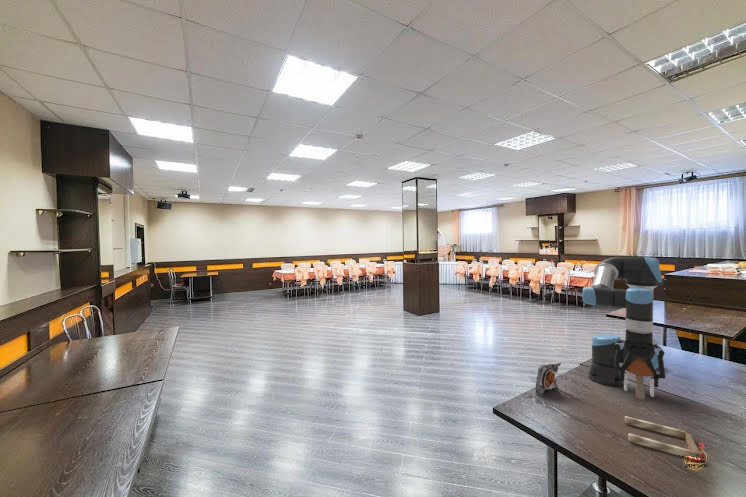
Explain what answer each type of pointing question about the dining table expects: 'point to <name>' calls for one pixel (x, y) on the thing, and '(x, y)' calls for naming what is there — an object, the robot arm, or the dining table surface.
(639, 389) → the mushroom
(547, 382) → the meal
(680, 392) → the dining table surface
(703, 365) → the dining table surface
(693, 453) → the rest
